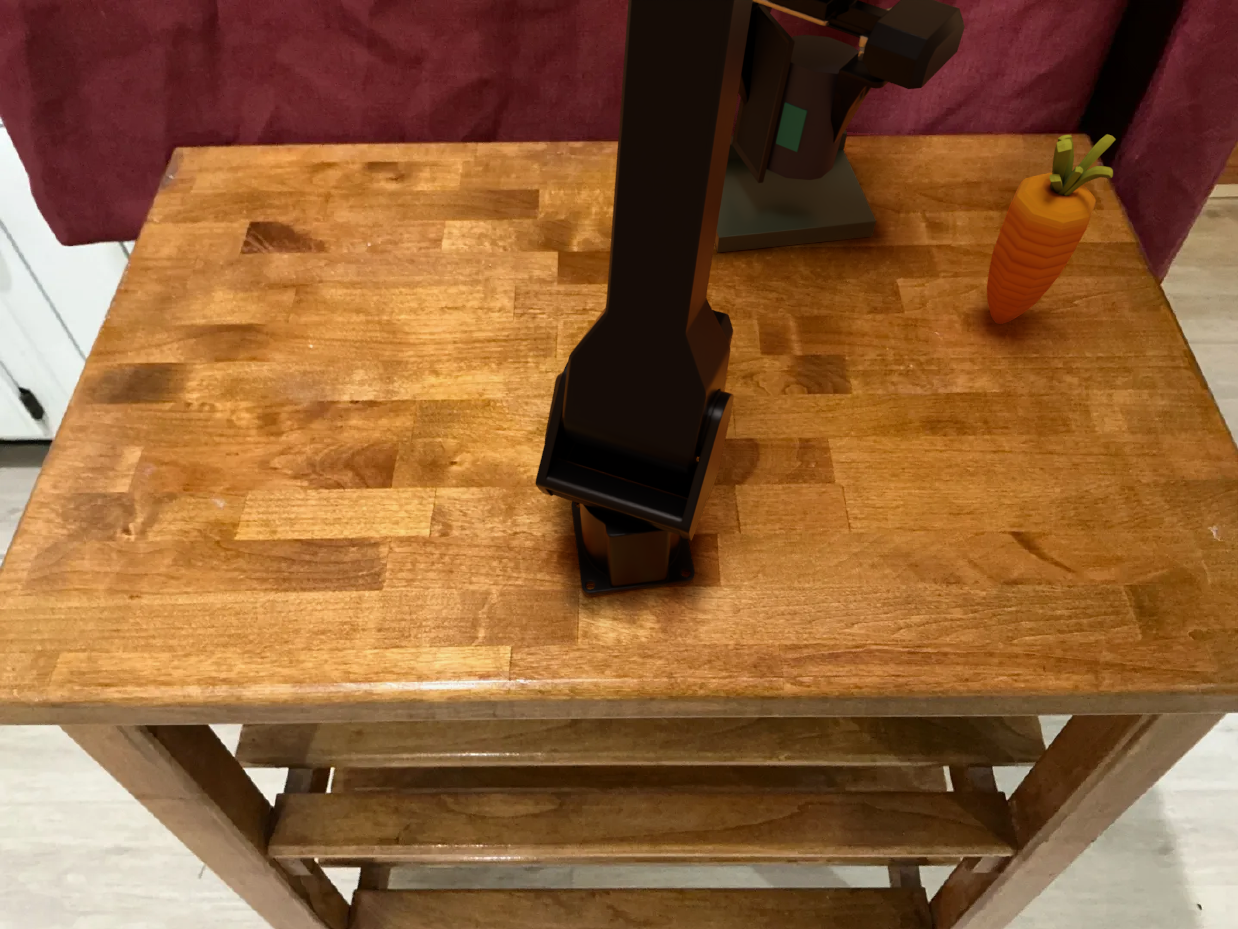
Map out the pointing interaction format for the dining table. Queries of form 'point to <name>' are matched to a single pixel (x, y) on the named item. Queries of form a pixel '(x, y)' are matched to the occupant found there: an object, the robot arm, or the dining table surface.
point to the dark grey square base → (790, 207)
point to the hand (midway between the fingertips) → (792, 122)
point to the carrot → (1042, 230)
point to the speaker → (790, 103)
